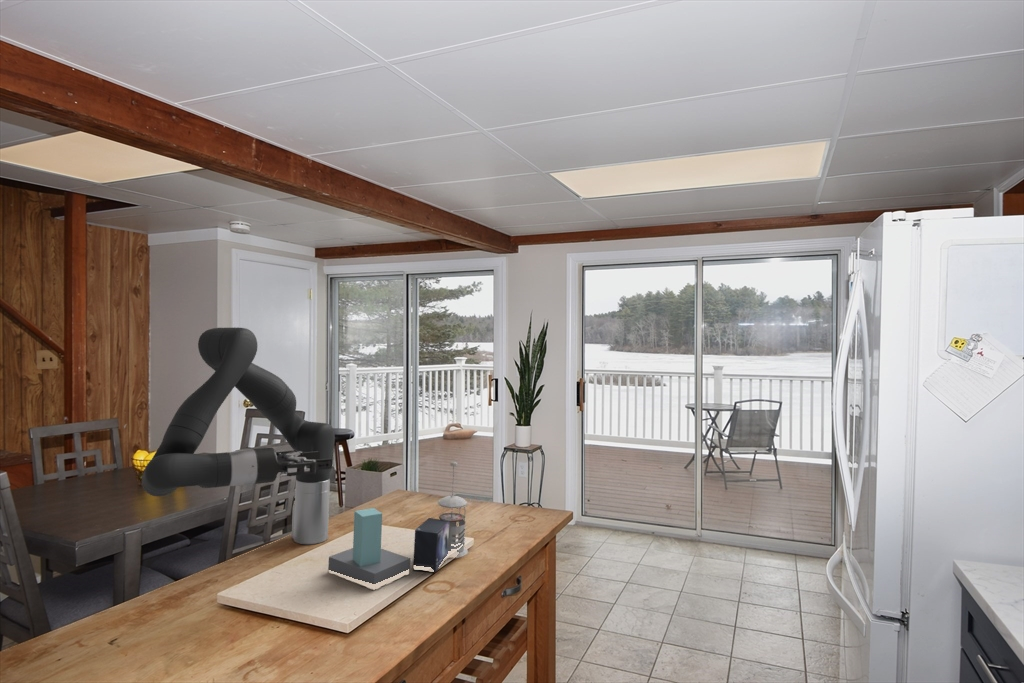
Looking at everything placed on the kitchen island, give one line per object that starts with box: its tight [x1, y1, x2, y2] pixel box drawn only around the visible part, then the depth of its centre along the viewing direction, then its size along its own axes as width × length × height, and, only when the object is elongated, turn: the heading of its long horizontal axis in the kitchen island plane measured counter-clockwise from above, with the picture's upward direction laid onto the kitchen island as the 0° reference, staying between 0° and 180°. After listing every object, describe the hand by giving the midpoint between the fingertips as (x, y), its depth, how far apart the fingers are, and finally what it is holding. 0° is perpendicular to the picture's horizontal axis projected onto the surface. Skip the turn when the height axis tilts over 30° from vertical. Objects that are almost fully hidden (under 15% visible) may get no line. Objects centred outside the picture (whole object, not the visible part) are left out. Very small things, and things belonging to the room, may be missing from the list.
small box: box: [412, 517, 450, 574], centre depth 155 cm, size 11×6×10 cm, turn 169°
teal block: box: [352, 507, 383, 566], centre depth 145 cm, size 5×5×12 cm
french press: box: [437, 461, 469, 559], centre depth 165 cm, size 10×12×25 cm
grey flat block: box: [327, 547, 411, 584], centre depth 147 cm, size 16×12×4 cm
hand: (325, 459), depth 138 cm, fingers open, 8 cm apart
